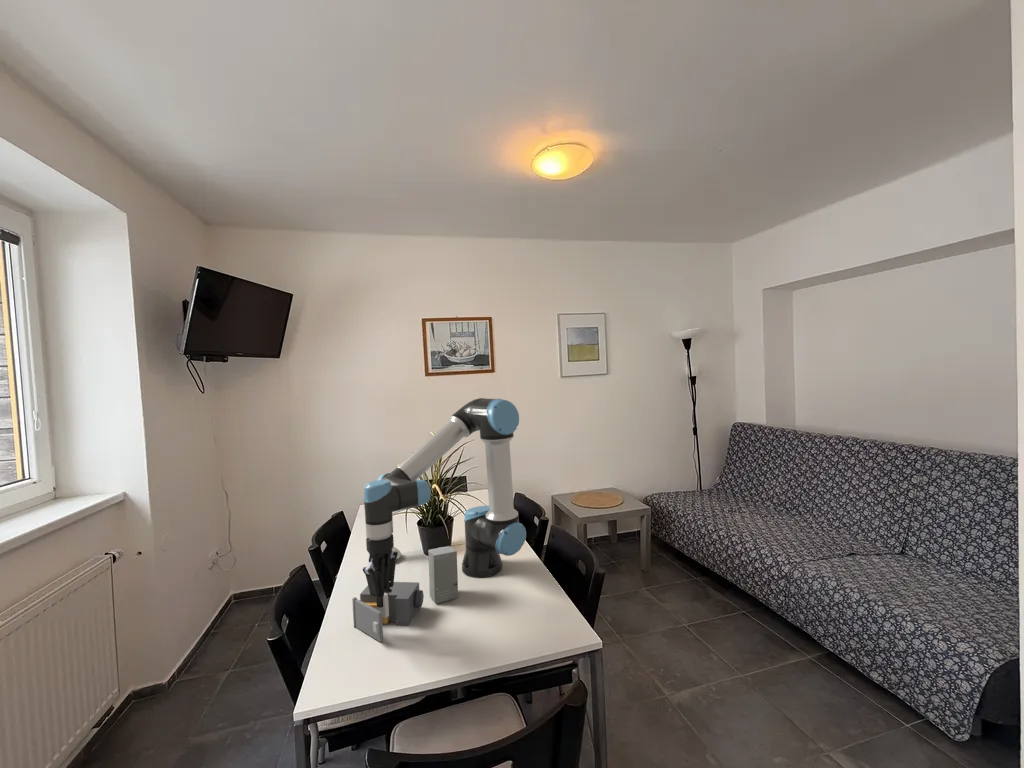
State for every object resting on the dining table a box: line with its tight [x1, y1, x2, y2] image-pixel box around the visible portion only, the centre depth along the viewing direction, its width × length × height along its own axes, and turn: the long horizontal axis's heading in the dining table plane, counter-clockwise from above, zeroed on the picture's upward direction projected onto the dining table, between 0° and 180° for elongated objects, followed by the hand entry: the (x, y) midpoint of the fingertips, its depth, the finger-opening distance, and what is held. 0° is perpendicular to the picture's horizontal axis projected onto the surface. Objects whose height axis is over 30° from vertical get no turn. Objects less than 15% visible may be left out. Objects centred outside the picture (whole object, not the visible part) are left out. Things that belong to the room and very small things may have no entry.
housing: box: [351, 581, 425, 629], centre depth 136 cm, size 18×12×9 cm, turn 83°
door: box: [355, 598, 384, 642], centre depth 127 cm, size 12×2×8 cm, turn 51°
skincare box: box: [427, 545, 459, 605], centre depth 146 cm, size 8×7×16 cm
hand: (383, 615), depth 128 cm, fingers closed
